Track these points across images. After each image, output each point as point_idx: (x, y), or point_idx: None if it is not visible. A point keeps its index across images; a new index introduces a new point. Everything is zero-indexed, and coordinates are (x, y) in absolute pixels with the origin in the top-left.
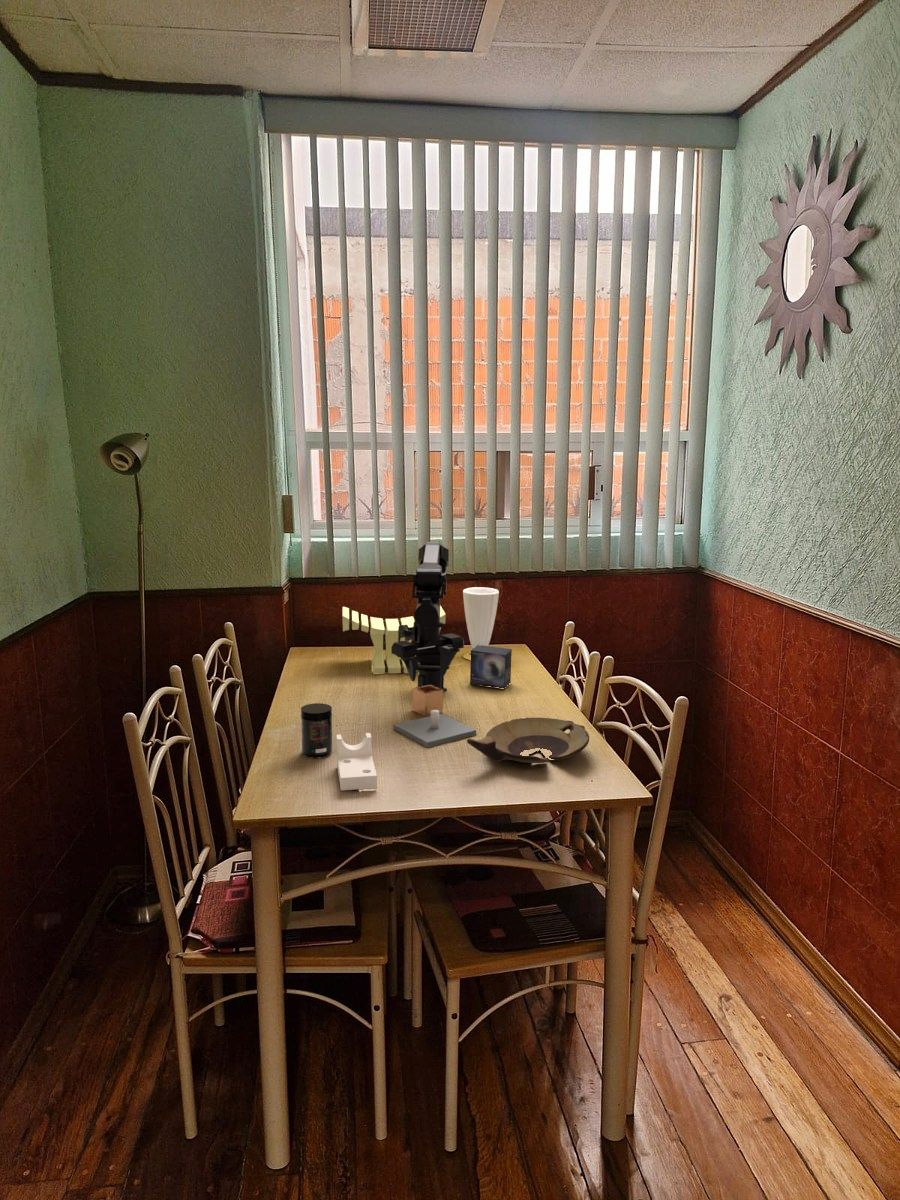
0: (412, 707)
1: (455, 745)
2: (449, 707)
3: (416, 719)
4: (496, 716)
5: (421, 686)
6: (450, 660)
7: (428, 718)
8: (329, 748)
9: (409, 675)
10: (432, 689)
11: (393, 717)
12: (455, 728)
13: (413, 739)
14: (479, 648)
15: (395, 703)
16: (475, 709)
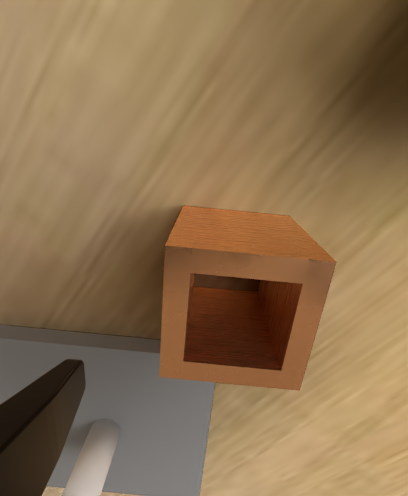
0: (182, 209)
1: (103, 492)
2: (343, 278)
3: (92, 348)
4: (376, 434)
5: (245, 257)
6: None
7: (138, 367)
8: None
9: (15, 399)
10: (289, 306)
11: (58, 222)
12: (156, 467)
13: None
14: None
15: (182, 41)
16: (394, 355)
